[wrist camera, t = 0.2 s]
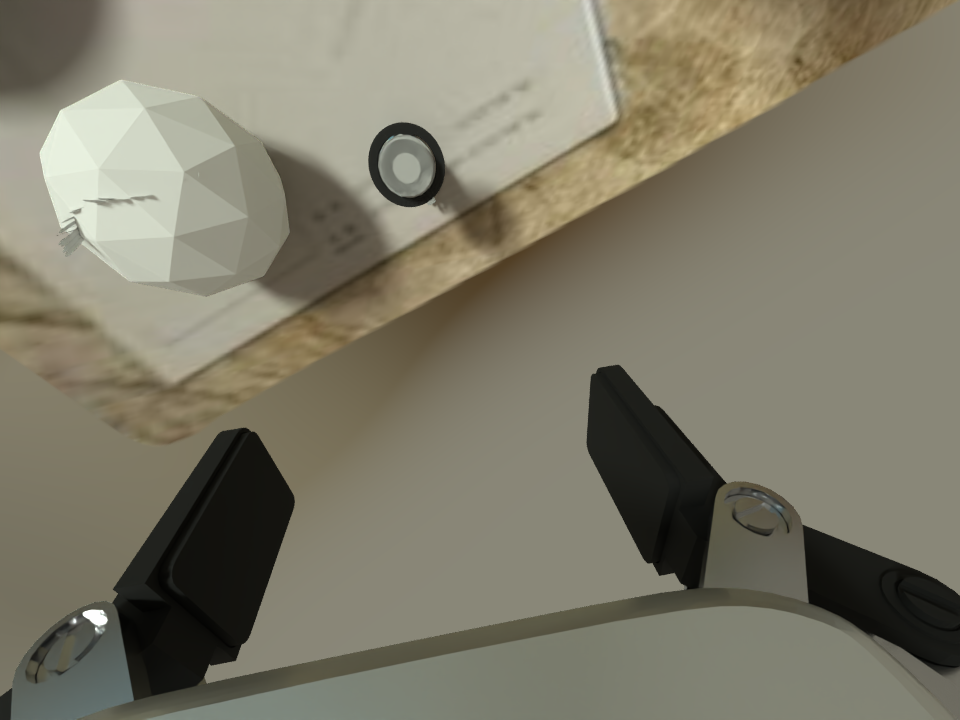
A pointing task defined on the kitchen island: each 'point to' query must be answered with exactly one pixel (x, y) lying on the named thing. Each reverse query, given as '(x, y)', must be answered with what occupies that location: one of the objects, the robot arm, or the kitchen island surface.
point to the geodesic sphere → (164, 189)
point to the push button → (406, 165)
